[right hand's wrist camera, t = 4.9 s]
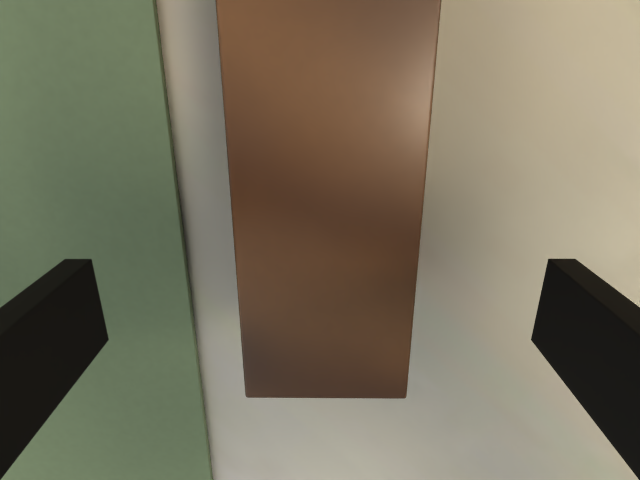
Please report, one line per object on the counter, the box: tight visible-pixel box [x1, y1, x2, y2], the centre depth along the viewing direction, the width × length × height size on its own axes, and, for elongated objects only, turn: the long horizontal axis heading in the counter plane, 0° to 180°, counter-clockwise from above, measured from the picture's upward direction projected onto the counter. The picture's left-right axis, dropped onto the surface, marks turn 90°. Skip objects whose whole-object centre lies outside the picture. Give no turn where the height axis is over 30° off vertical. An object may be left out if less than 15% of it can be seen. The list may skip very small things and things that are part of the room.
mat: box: [0, 0, 213, 480], centre depth 22 cm, size 14×36×1 cm, turn 0°
